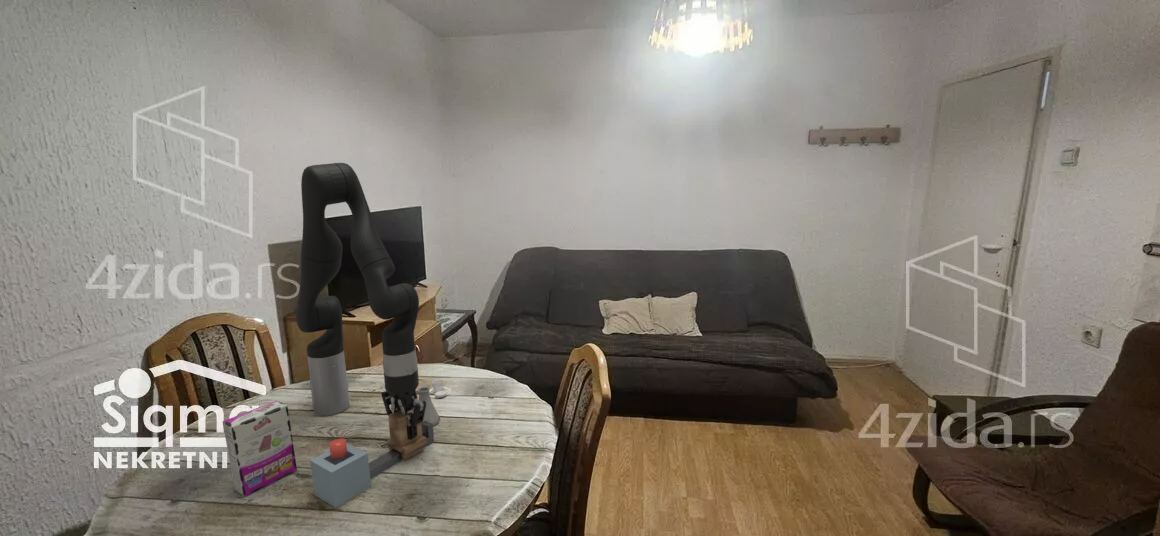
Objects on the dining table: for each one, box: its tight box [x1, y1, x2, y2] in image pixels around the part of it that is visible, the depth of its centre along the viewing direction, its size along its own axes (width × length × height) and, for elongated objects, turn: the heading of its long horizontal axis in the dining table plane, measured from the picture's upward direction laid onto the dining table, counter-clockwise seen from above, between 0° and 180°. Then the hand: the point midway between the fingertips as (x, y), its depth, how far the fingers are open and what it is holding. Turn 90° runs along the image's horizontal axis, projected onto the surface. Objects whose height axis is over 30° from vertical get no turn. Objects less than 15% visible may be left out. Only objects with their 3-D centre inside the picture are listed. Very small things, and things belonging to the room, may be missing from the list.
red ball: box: [328, 437, 347, 460], centre depth 101 cm, size 3×3×3 cm
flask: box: [416, 386, 441, 427], centre depth 130 cm, size 7×7×10 cm
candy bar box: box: [222, 400, 298, 497], centre depth 105 cm, size 11×5×16 cm, turn 148°
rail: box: [369, 421, 435, 480], centre depth 114 cm, size 3×20×5 cm, turn 148°
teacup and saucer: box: [429, 378, 453, 399], centre depth 149 cm, size 9×8×4 cm
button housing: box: [309, 442, 372, 509], centre depth 102 cm, size 8×8×8 cm
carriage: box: [386, 409, 427, 461], centre depth 115 cm, size 7×6×10 cm
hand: (406, 435), depth 115 cm, fingers closed on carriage, 4 cm apart
